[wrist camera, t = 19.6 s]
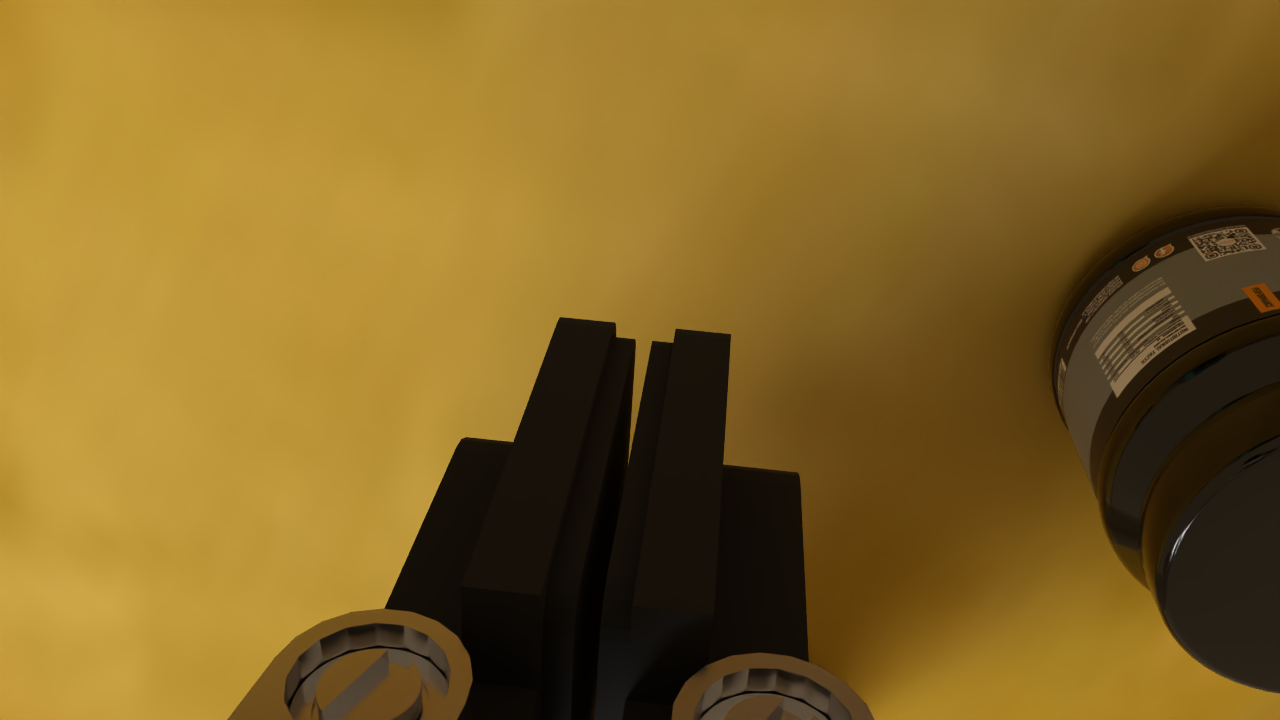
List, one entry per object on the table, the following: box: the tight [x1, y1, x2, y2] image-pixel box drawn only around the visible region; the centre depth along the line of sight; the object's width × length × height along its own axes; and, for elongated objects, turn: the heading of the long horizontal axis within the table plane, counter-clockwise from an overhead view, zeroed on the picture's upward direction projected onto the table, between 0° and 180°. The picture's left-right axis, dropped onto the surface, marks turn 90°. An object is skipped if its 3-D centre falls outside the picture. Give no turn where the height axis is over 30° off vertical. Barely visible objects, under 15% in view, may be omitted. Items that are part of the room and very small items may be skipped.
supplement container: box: [1049, 206, 1280, 694], centre depth 33 cm, size 10×10×12 cm
